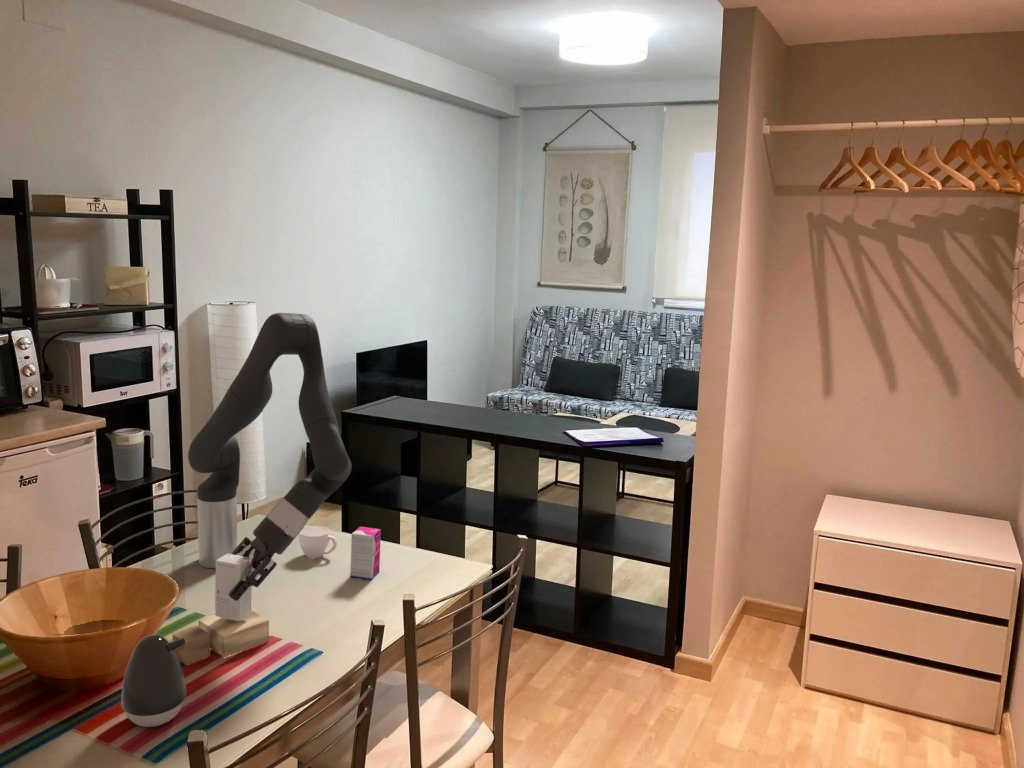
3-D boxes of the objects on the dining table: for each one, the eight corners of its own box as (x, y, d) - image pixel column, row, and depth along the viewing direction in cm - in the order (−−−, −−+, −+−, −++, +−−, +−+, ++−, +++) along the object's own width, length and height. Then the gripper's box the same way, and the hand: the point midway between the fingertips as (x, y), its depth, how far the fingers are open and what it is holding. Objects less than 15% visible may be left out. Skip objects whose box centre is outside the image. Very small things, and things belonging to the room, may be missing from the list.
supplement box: (372, 580, 204) (372, 536, 202) (349, 578, 205) (349, 533, 203) (380, 571, 209) (381, 528, 207) (358, 569, 210) (358, 525, 208)
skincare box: (214, 616, 169) (212, 560, 167) (228, 607, 173) (226, 552, 171) (240, 622, 167) (239, 565, 165) (253, 612, 172) (252, 557, 169)
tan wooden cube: (173, 657, 164) (172, 634, 163) (196, 648, 168) (195, 625, 167) (186, 666, 161) (186, 642, 160) (210, 657, 165) (209, 633, 164)
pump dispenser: (182, 732, 140) (180, 648, 137) (115, 738, 138) (111, 652, 135) (192, 699, 150) (190, 620, 147) (130, 704, 147) (126, 624, 145)
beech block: (199, 642, 171) (198, 619, 170) (243, 626, 178) (242, 604, 177) (224, 660, 164) (224, 636, 163) (269, 643, 172) (268, 620, 171)
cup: (307, 548, 222) (307, 524, 221) (342, 553, 220) (342, 528, 219) (294, 559, 215) (293, 534, 214) (330, 564, 213) (330, 538, 212)
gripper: (256, 506, 177) (201, 569, 172) (281, 526, 165) (223, 595, 161) (281, 525, 181) (228, 588, 176) (307, 546, 170) (251, 614, 165)
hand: (226, 591), depth 168 cm, fingers closed on skincare box, 7 cm apart
